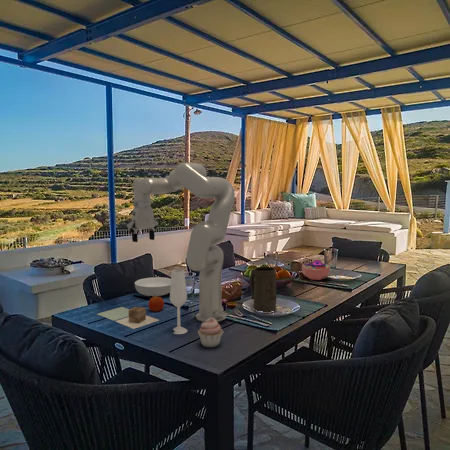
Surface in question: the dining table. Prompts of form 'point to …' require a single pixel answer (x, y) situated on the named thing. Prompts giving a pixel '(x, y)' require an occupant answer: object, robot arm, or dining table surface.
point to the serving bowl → (153, 286)
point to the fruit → (156, 304)
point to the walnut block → (137, 314)
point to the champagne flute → (178, 296)
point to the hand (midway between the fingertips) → (143, 240)
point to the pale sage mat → (115, 313)
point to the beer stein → (263, 289)
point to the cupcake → (210, 333)
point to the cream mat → (136, 325)
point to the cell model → (316, 270)
